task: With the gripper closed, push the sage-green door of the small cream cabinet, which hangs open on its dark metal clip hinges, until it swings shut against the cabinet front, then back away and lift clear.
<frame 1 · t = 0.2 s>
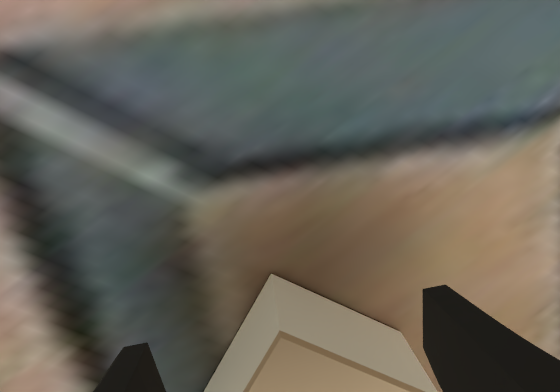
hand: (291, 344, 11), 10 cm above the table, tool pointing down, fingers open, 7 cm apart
cabinet: (292, 377, 24), on the table
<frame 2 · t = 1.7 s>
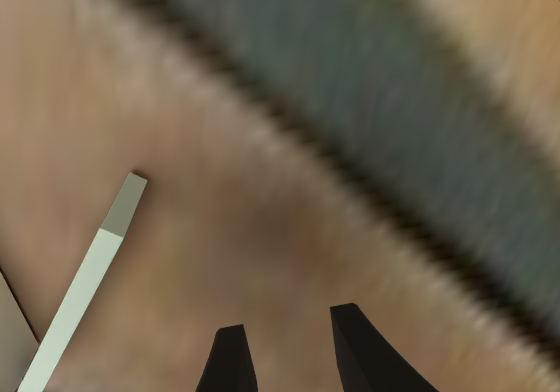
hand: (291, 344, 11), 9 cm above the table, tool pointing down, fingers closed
door: (71, 307, 18), point 3 cm above the table, hinge at 40.0°
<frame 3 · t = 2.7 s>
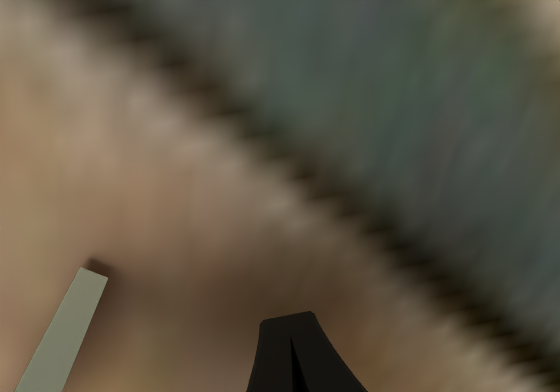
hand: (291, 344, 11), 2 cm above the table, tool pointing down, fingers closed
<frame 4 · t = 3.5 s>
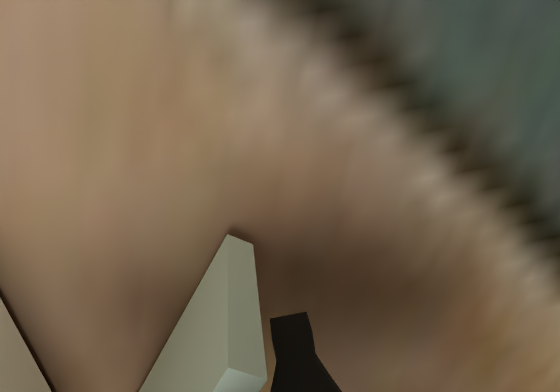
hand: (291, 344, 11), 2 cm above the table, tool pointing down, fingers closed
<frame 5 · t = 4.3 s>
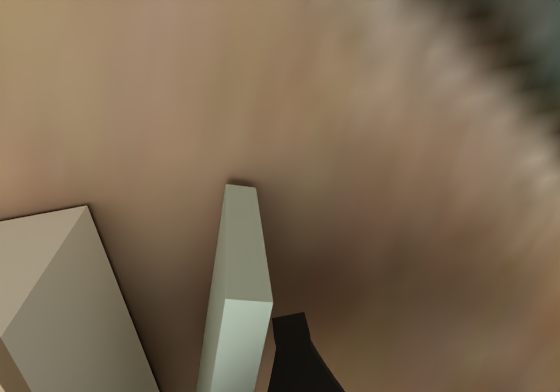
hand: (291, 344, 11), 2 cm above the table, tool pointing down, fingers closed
cabinet: (14, 368, 14), on the table
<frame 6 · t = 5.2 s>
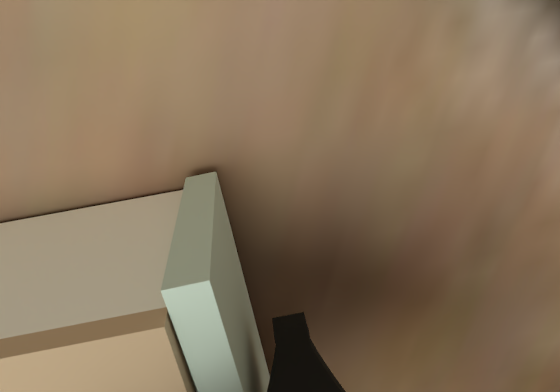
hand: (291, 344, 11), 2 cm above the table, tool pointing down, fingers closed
cabinet: (103, 352, 14), on the table
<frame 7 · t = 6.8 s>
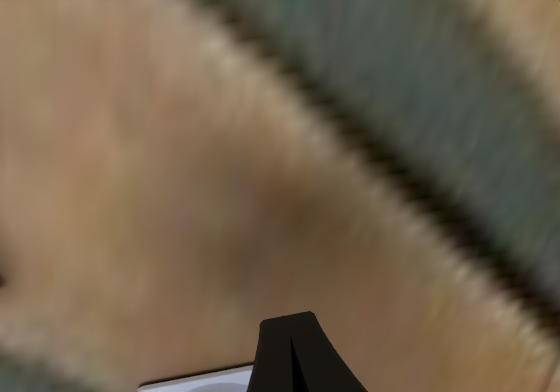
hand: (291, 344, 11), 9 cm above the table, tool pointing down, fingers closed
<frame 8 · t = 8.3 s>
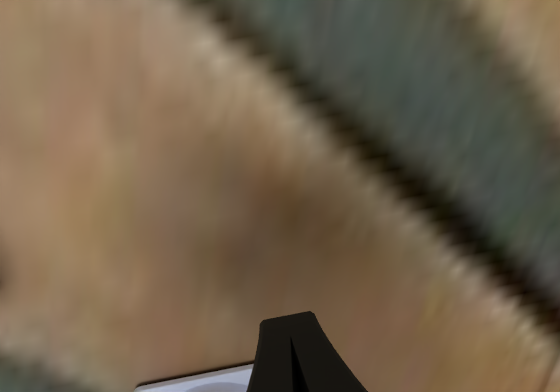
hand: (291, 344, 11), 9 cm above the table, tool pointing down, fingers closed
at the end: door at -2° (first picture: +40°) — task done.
